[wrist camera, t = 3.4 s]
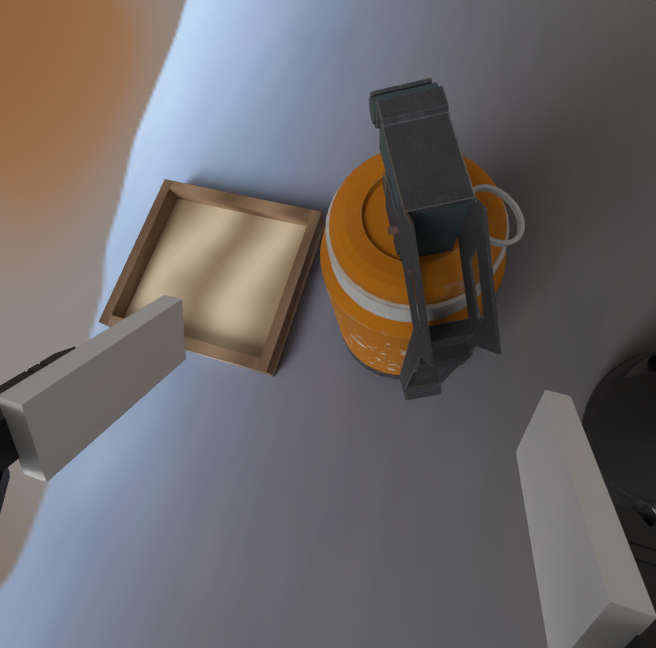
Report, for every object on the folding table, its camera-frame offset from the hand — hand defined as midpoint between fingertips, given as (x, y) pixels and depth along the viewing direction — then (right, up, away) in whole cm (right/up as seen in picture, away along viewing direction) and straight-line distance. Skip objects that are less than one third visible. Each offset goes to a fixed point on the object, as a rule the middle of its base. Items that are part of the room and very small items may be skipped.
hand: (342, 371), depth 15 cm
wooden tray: (-10, +6, +20) cm, 23 cm away
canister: (+5, +1, +17) cm, 18 cm away
